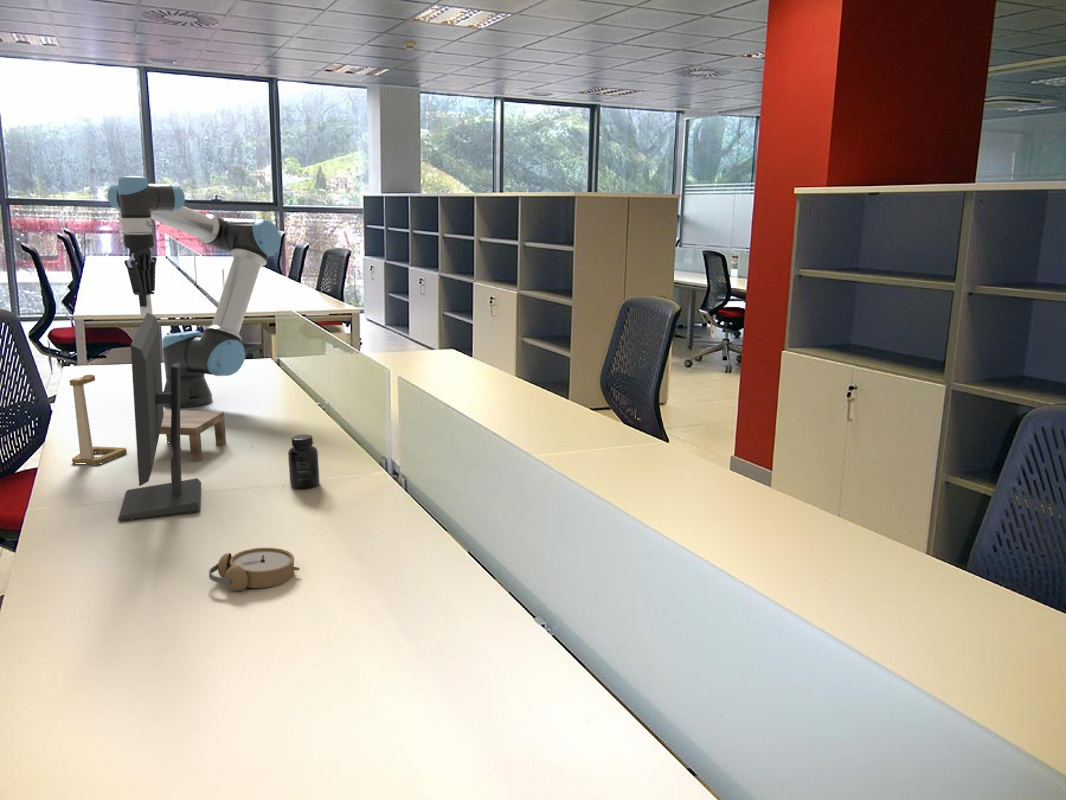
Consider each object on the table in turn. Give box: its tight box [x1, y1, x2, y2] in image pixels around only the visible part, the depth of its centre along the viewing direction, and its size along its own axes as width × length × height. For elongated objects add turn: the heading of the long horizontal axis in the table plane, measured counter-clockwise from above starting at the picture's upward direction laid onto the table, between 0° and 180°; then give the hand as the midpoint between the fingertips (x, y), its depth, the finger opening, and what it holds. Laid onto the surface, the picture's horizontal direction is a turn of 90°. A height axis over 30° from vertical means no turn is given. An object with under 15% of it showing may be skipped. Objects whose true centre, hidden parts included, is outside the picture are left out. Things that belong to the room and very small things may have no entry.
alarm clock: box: [208, 547, 300, 592], centre depth 150 cm, size 11×5×15 cm
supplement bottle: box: [287, 434, 320, 490], centre depth 196 cm, size 7×7×12 cm
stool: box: [159, 409, 227, 462], centre depth 221 cm, size 9×16×16 cm
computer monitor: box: [117, 313, 202, 522], centre depth 180 cm, size 44×16×40 cm, turn 21°
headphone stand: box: [69, 374, 128, 465], centre depth 212 cm, size 10×11×22 cm
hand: (146, 317), depth 236 cm, fingers closed
